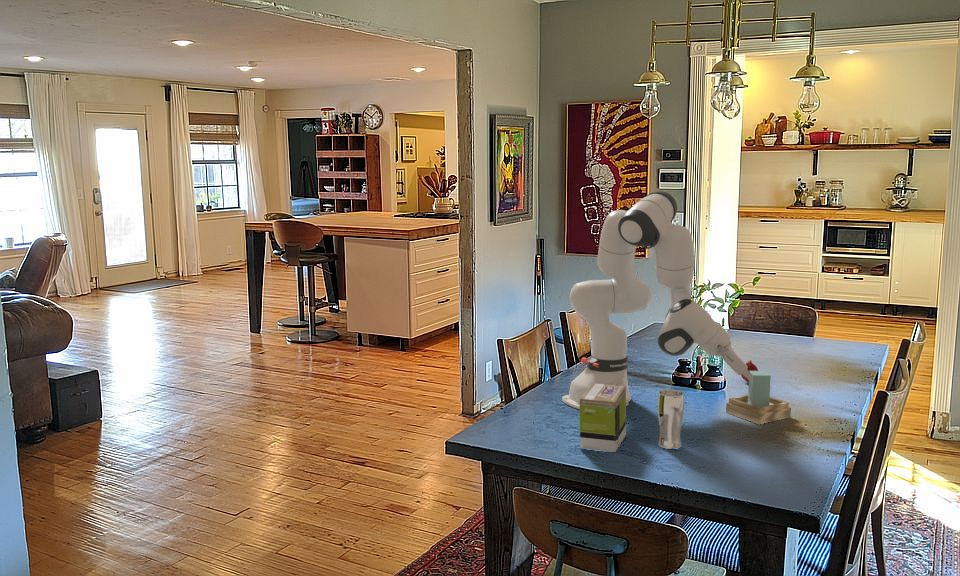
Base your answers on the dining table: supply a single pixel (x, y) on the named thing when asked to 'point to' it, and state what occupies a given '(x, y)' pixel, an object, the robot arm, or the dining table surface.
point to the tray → (758, 410)
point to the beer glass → (670, 417)
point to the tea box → (603, 417)
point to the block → (759, 389)
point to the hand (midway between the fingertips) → (747, 373)
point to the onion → (749, 369)
